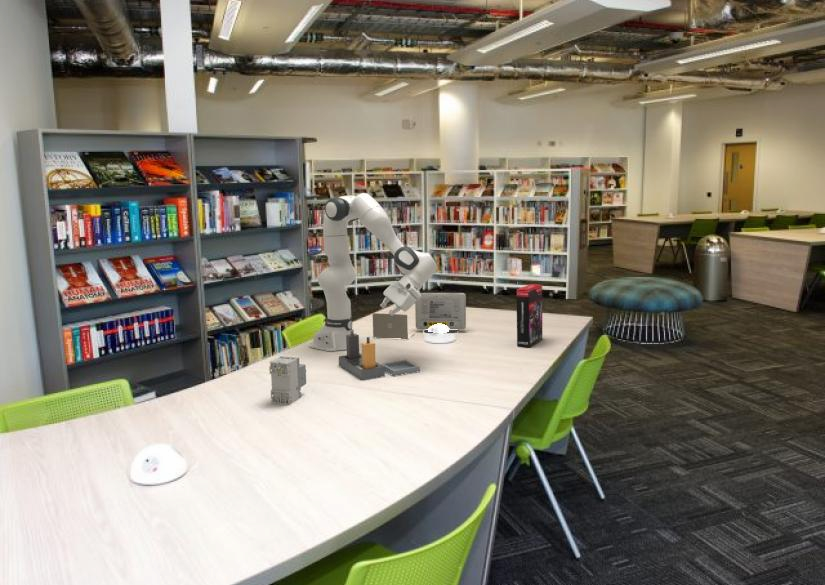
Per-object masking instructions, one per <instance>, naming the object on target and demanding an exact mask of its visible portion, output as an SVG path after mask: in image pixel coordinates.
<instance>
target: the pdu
mask: <svg viewBox="0 0 825 585" xmlns="http://www.w3.org/2000/svg"><path fill="white" fill-rule="evenodd" d="M381 364H382V363H378V361H376V367H373V368H367V369H364V368H362V352H359V358H355V359H347V354H345V355H340V356H339V355H338V366H339V367H340V366H341V368H342V369H343V370H345V369H346V370H345V371H347V372H348V371H349V372H348V373H350V374H351V373H352V374H351V375H353V376H354V375H355V377H356V378H358V379H359V378H360V379H359V380H361V381H366V379H367V380H372V379H371V378H373V379H377V378H376V377H378V378H382V377H381V376H384V377H385V376H386V375H385V374H386V372H385V367H384V366H382V365H381Z"/></svg>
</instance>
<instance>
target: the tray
mask: <svg viewBox="0 0 825 585" xmlns="http://www.w3.org/2000/svg"><path fill="white" fill-rule="evenodd" d="M380 364H381V365H382V366H384V367H385V371H387V372H388V373H387V372H386V373H387V374H389V373H390V374H392V375H393V376H392V375H391V376H392V377H396V376H395V375H399V376H402V375H401V374H404V375H406V374H405V373H410V374H413V373H412V372H415V373H418V372H417V371H420V372H421V366H420V365H418V364H416V363H414V362H411V361H410V360H407V359H402V360H396V361H390V362H384V363H380ZM390 374H389V375H390Z"/></svg>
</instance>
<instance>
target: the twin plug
mask: <svg viewBox="0 0 825 585" xmlns="http://www.w3.org/2000/svg"><path fill="white" fill-rule="evenodd" d="M354 331H355V329H354V328H352V329H351V334H350V335H346V347H347V350H346V355H347V359H355V358H359V353H360V335H359V334H358V333H355V332H354Z"/></svg>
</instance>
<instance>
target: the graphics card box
mask: <svg viewBox="0 0 825 585" xmlns="http://www.w3.org/2000/svg"><path fill="white" fill-rule="evenodd" d="M542 340H543V285H542V284H534V283H529V284H528V285H526V286H522V287H520V288H517V289H516V341H517V342H516V346H517V347H522V348H531V347H532V346H534V345H535V344H537V343H539V342H541V341H542Z"/></svg>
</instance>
